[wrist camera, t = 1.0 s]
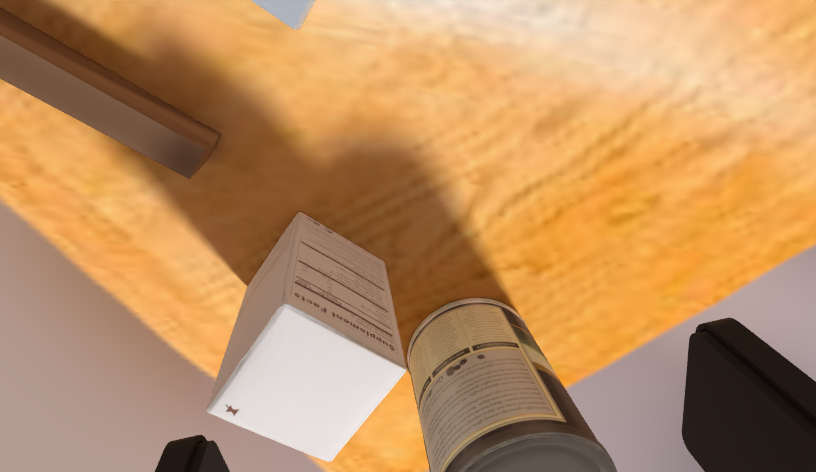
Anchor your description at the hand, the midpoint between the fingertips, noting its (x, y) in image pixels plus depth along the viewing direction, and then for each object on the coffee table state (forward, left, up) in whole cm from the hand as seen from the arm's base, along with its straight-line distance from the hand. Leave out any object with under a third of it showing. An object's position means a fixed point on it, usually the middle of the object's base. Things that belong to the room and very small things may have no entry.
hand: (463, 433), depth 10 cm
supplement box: (+10, +1, -25) cm, 27 cm away
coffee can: (+10, +15, -25) cm, 31 cm away
